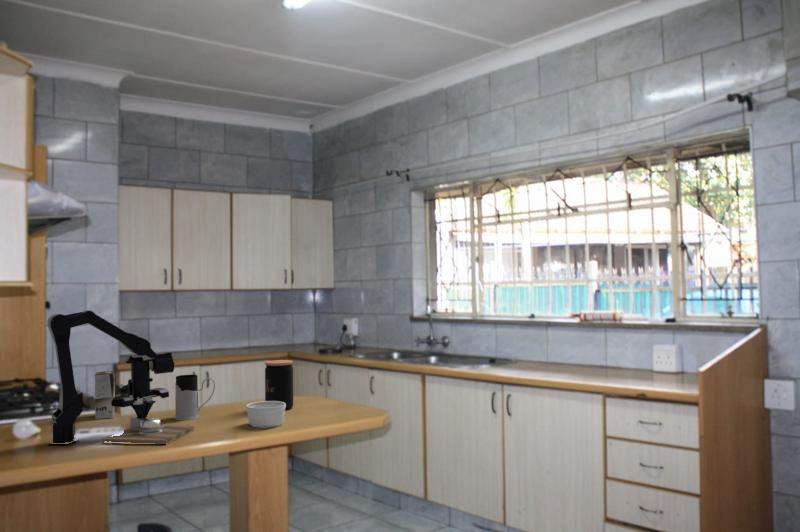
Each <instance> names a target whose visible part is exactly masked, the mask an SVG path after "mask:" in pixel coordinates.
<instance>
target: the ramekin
mask: <svg viewBox="0 0 800 532" xmlns="http://www.w3.org/2000/svg"><path fill="white" fill-rule="evenodd" d="M245 408H246V411H247V419H248V423H249V425H250V426H251V427H253V428H261V429H266V428H275V427H276V428H277V427H279V426H281V425H282V424H283V423H284V420H285V413H286V410H285V408H286V403H284V402H280V401H265V400H262V401H254V402H250V403H248V404H246V407H245Z"/></svg>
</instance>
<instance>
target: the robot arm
mask: <svg viewBox="0 0 800 532" xmlns="http://www.w3.org/2000/svg"><path fill="white" fill-rule="evenodd" d="M46 322H47V328H48V331H49V333H50V337H51V339H52V341H53V343H54V348H55V355H56V356H55V357H56V361H57V362H56V363H57V370H58V375H59V376H58V377H59V378H58V379H59V385H60V393H59V401H58V402H59V403H58V408H57V409H56V410H55V411H54V412H53V413H52V414H51V419H52V420H53V423H52V441H53V443H65V442H71V441H73V439H74V435H75V436H76V420H77V418H78V417H79V416H80V415H82V413H83V409H84V407H85V406H86V405H85V403H84V393H83V392H82V391H81V390H77V387H76V383H75V376H74V369H73V368H74V367H73V362H72V355H71V348H70V347H71V346H70V339H71V334H72V333H71V329H72V328H76V327H79V326H83V325H87V324H88V325H90V326H92V327H93V328H95V329H96V330H99V331H100V332H102V333H104V334H106V335H107V336H109V337H110V338H113V339H114V340H116V341H118V342H119V343H120V344H121V345H122V346H123V347H124V348H126V350H128V351H129V352H130V353H132V354H134V355H136V356H134V357H133V356H132V355H131V354H130V355H128V356H127V358H126V359H124V360H123V363H125V364H128V365H129V364H130V378H129V379H128V381H127V384H126V385H125V384H123V383H117V384H115V397H114V398H113V399H112V406H115V408H117V407H118V408H127V407H131V408H132V409H133V410H134V413H135V415H136V417H139V418H145V419H147V417H148V415H149V413H150V411H151V409H152V407H153V405H154V404H155V403H156V400H153V399H154V398H156V397H160V398H161V399H165V398H169V397H170V391H169V390H168V388H166V387H164V388H163V387H156V388H151V383H152V382H153V381H154V379H153V377H151V372H153V374H154V375H159V374H160V375H161V374H168V373H173V372H175V361H174V358H173V356H172V355H173V354H172V352H171V351H167V352H162V353H160V352H159V353H156V352H155V351H154V349H152V347H151V342H150V340H148V338H145V337H143V336H139V335H137V334H134V333H131V332H128V331H126V330H125V329H123V328H120V327H119V326H117V325H115V324H113V323H112V322H111V321H109V320H107V319H106V318H103V317H102V316H100V315H98V314H97V313H96V312H95V311H94V310H91V309H90V310H88V309H87V310H83V311H79V312H75V313H74V312H73V313H69V314H63V313H62V314H61V313H55V314H51V315H50V317H48V319H47V321H46ZM142 356H144V357H147V358H143V357H142Z"/></svg>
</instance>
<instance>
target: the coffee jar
mask: <svg viewBox="0 0 800 532" xmlns="http://www.w3.org/2000/svg"><path fill="white" fill-rule="evenodd" d="M293 364H294V360H291V359H275V360H267V361H265V362H264V365H265V368H264V399H265V400H264V401H280V402H284V403H286V408H285V411H289V410H291V409H293V407H294V367H293V366H292V365H293Z"/></svg>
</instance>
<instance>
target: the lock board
mask: <svg viewBox="0 0 800 532" xmlns="http://www.w3.org/2000/svg"><path fill="white" fill-rule="evenodd" d="M192 430H194V431H195V425H174V424H173V425H171V424H170V425H169V424H168V425H166V424H165V425H163V424H161V430H160V431H157V432H151V433H143V432H141V431H140V429H139V428H133V427H128V428H126V429H124V430H123V431H124V433H123V434H122V435H120V436H113V437H109V436H107V437H105V438H103V442H104V441H107V442H109V441H111V442H131V443H155V444H166V443H168V442H170V441H173V440H175V439H177V438H179V437H181V436H182V437H184V436H186V435H188V434H190V433H191V432H190V431H192ZM189 432H190V433H189ZM192 432H193V431H192ZM187 433H188V434H187ZM185 434H186V435H185ZM183 435H184V436H183ZM182 437H181V438H182ZM179 439H180V438H179ZM177 440H178V439H177ZM175 441H176V440H175ZM173 442H174V441H173Z"/></svg>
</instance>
